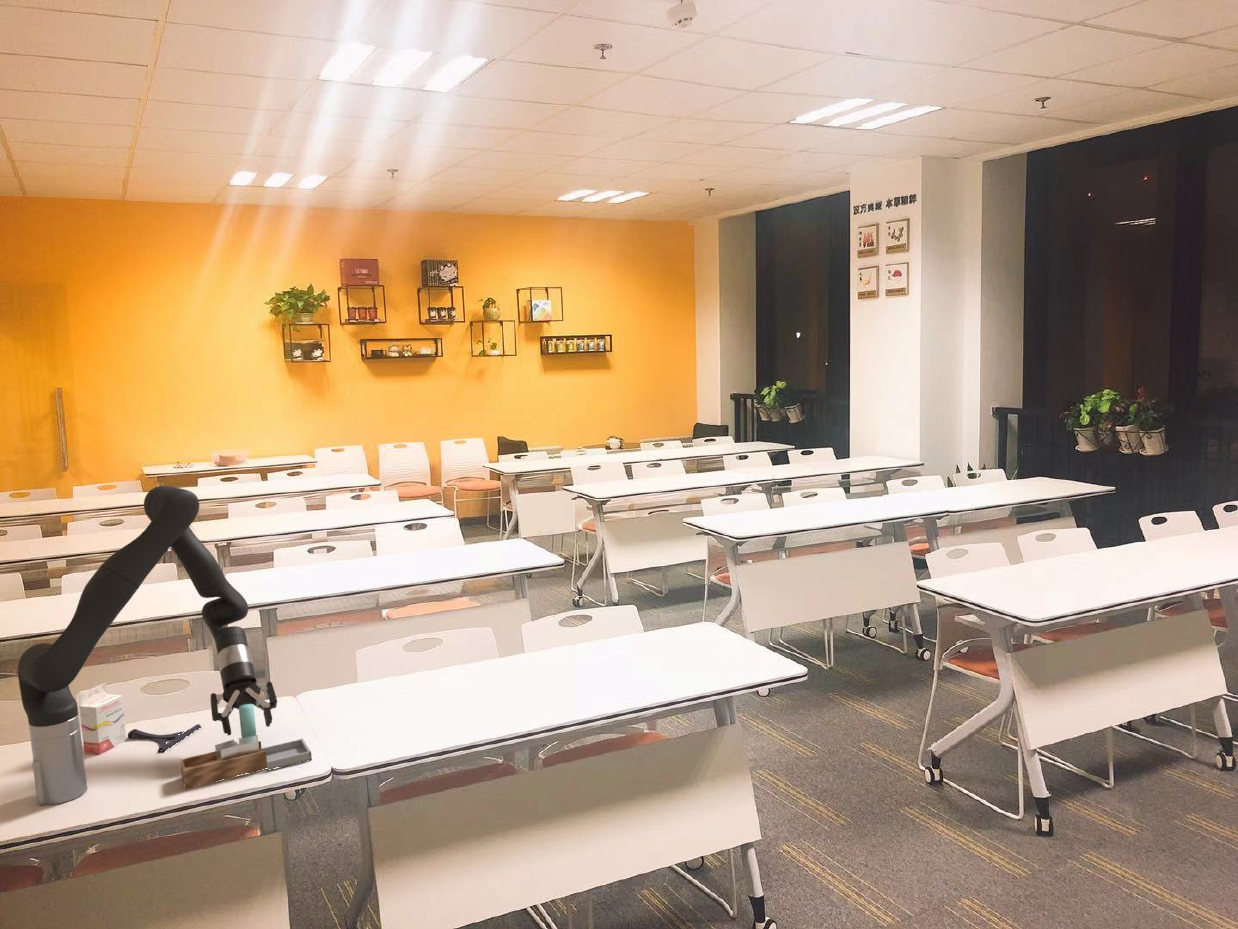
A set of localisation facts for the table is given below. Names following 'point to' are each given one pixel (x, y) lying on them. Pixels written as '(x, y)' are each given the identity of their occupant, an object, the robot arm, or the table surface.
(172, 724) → the table surface
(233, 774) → the channel
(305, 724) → the table surface
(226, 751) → the light grey block
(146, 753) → the table surface
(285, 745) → the tray
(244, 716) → the teal block
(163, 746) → the black forked piece
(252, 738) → the chip
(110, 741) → the ink cartridge box
